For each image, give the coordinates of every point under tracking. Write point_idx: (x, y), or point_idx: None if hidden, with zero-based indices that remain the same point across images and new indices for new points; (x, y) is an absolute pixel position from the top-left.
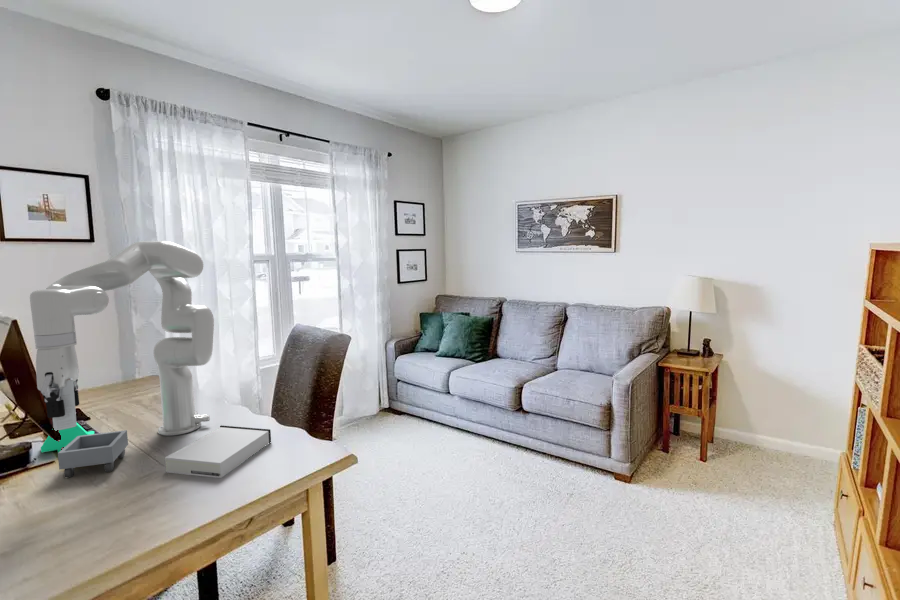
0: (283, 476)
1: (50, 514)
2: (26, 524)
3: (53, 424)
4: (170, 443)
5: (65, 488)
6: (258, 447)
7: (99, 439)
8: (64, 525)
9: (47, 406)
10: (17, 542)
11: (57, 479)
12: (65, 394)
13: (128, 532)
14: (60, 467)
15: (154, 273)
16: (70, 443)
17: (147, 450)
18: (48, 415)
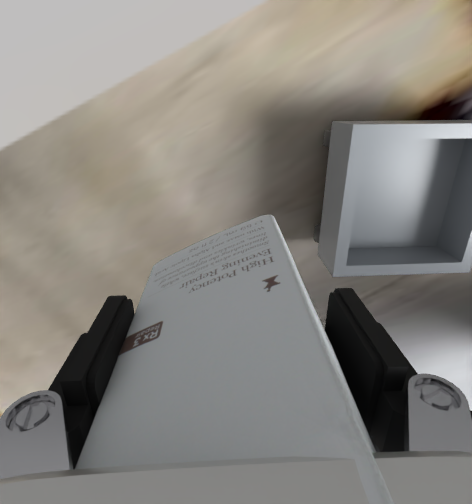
0: None
1: (121, 182)
2: (83, 147)
3: (180, 261)
4: (437, 313)
5: (260, 156)
6: None
7: (468, 193)
8: (65, 234)
9: (81, 353)
10: (5, 168)
11: (333, 106)
12: None
13: (22, 350)
14: (334, 125)
15: None
16: (442, 129)
17: (420, 275)
18: (105, 307)
